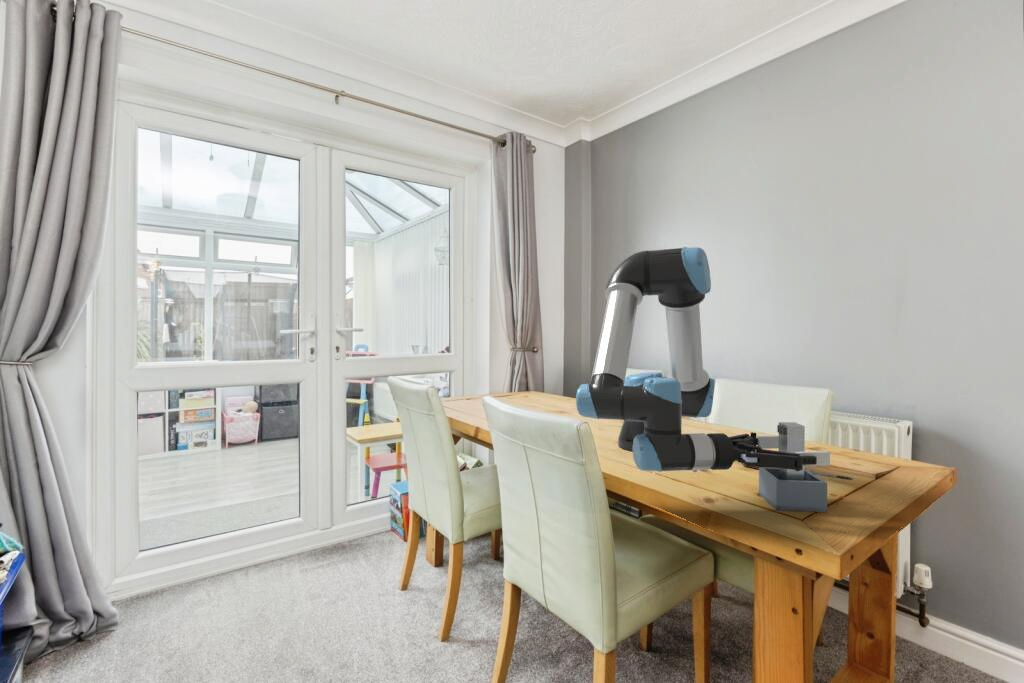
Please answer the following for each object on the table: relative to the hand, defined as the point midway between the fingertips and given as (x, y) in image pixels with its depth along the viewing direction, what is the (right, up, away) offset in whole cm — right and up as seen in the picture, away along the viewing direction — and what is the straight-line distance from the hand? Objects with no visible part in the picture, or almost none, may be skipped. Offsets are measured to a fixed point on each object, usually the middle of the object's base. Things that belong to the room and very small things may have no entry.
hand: (806, 449), depth 101 cm
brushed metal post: (-3, -11, 0) cm, 11 cm away
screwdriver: (+8, -11, +19) cm, 23 cm away
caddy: (-3, -11, 0) cm, 12 cm away
